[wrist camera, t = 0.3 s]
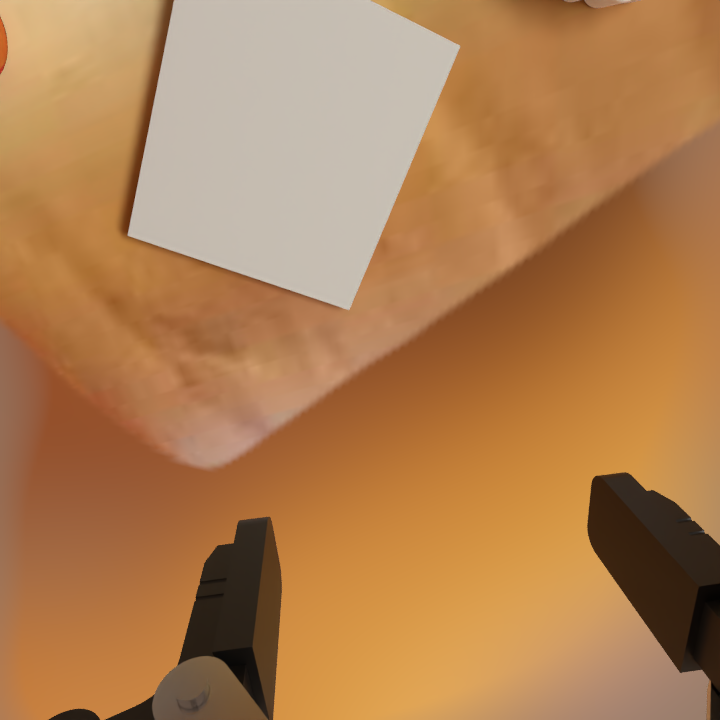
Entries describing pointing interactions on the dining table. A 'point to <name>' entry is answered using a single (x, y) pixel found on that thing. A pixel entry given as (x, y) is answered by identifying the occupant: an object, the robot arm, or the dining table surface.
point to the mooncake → (603, 2)
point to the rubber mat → (285, 136)
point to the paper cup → (3, 46)
